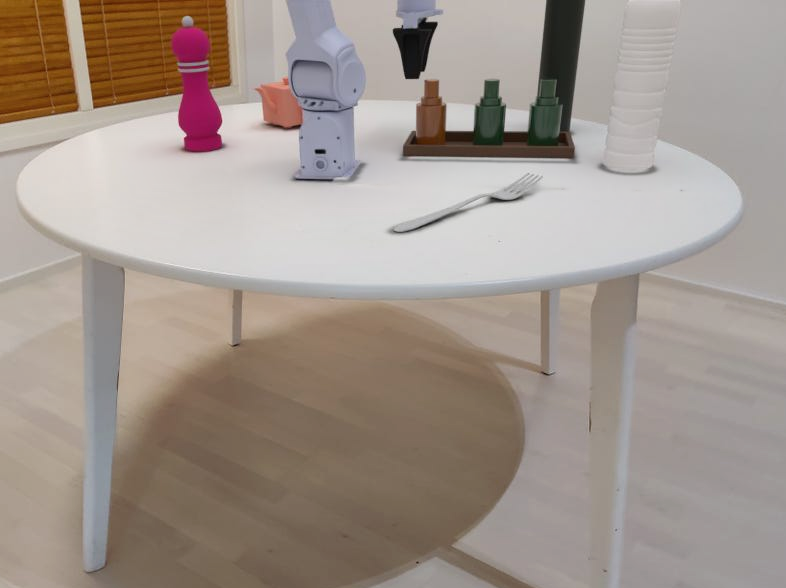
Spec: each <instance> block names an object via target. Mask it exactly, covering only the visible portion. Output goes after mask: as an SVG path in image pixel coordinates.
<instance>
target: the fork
mask: <svg viewBox="0 0 786 588" xmlns="http://www.w3.org/2000/svg"><path fill="white" fill-rule="evenodd" d="M534 175H535V174H534V173H531V174H530V172H527V173H526V174H524V175H523V176H521V177H519V178H518V179H517V180H515V181H513V182H512V183H510V184H509V185H508V186H506V187H504V188H502V189H500V190H498V191H496V192H493V193H491V194H490V193H482V194H478V195H476V196H473V197H470V198H468V199H466V200H464V201H461V202H458V203H456V204H454V205H451V206H448V207H444V208H443V209H440V210H437V211H435V212H432V213H429V214H426V215H423V216H420V217H416V218H414V219H412V220H408V221H405V222H402V223H400V224H398V225H396V226H395V227H394V228H393V231H394V232H398V233H405V232H407V231H412V230H415V229H417V228H420V227H422V226H424V225H427V224H429V223H431V222H434V221H436V220H438V219H441V218H443V217H445V216H447V215H449V214H451V213H453V212H456V211H457V210H459V209H461V208H463V207H465V206H467V205H469V204H472V203H473V202H475V201H477V200H481V199H482V198H487V197H488V198H489V197H490V198H495V199H499V200H504V201H512V200H515V199H517V198H519V197H521V196H523V194H525V193H526V192H528V191H529V190H530V189H531V188H532V187H534V186H535V185H536V184H537V183H538V182H540V181H541V180H542V179H543V178H544V175H541V176H540V177H539V174H536V175H535V176H534ZM531 178H532V179H531Z"/></svg>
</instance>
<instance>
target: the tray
mask: <svg viewBox="0 0 786 588" xmlns="http://www.w3.org/2000/svg"><path fill="white" fill-rule="evenodd" d="M527 131H528V130H527ZM527 131H525V130H523V131H522V130H521V131H520V130H506V131H505V130H504V141H503V146H490V145H473V130H446V145H416V130H412V131H410V133H409V135H408V137H407V139H406V140H405V142H404V144H403V146H402V157H428V158H429V157H430V158H431V157H433V158H434V157H435V158H436V157H438V158H439V157H443V158H500V159H503V158H504V159H505V158H506V159H507V158H508V159H509V158H511V159H573V160H574V159H575V150H576V147H575V143H574V140H573V136H572V133H571V131H568V132H559V140H558V146H526V142H527Z"/></svg>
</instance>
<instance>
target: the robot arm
mask: <svg viewBox="0 0 786 588" xmlns="http://www.w3.org/2000/svg"><path fill="white" fill-rule="evenodd" d="M285 3H286V6H287V9H288V13H289V18H290V20H291V25H292V28H293V32H294V35H295V39H294V41H292V43H291V45H289V47H288V49H287V51H286V52H285V58H286V61H287V68H288V71H287V72H288V73H287V74H288V75H287V77H288V82H289V87H290V90H291V92H292V94H293V95H294V96H295V97H296V98H297V99H298V106H301V107H303V108H302V113H303V124H302V125H301V124H300V128H299V131H298V146H299V148H298V149H299V163H300V169H299V170H298V171H297V172H296V173H295V174H294V178H295V179H298V180H300V179H301V180H335V179H336V178H350V177H351V176H352V175H353V174H354V172H355V171H356V170H357V168H358V167H359V165H360V164H361V163H362V162H363V160H362V159H356V149H355V147H356V145H355V142H356V141H355V109H354V108H355V107H357V106H359V103H358V102H359V101H360V99H361V98H362V96H363V94H364V92H365V89H366V82H367V75H366V70H365V65H364V64H363V62H362V61H361V59H360V58H359V56H358V54H357V51H356V47H355V43H354V42H353V41H352V40H351V39H350V38H349V37H348V36H347V35H346V34H345V33H344V32H343V31H341V30H340V29H339V27H338V26H337V23H336V19H335V15H334V10H333V5H332V1H331V0H285ZM436 4H437V3H436V0H397V5H396V6H397V7H396V8H397V9H396V11H395V17H396V18H399V19H402V24H401V26H400V27H394V28H392V34H393V35H392V36H393V37H394V39H395V41H396V44H397V47H398V50H399V53H400V58H401V64H402V71H403V75H404V78H405V80H419V79H420V76H421V73H425V71H426V69H427V66H428V65H427V64H428V59H429V53H430V47H431V44H432V40H433V38H434V37H433V36H434V35H435V32H436V29H437V27H438V25H439V22H438V21H428V20H429V18H430V17H435V16H443V14H444V8H436V6H437V5H436Z"/></svg>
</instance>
